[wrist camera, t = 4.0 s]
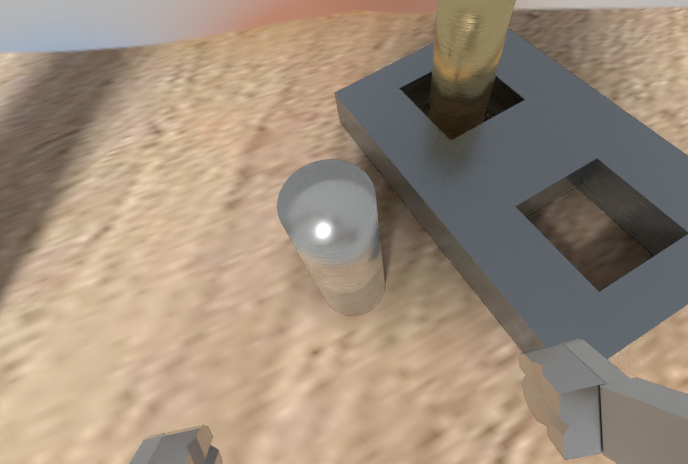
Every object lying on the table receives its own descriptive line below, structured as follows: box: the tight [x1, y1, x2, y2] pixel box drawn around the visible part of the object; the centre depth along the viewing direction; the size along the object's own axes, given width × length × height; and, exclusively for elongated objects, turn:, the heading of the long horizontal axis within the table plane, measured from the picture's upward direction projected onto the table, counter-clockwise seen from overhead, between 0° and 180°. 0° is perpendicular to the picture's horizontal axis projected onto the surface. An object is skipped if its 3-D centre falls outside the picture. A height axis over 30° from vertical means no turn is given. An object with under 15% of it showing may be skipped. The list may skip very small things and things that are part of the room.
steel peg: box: [277, 159, 385, 316], centre depth 20 cm, size 4×4×10 cm
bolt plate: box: [335, 0, 688, 359], centre depth 22 cm, size 14×23×10 cm, turn 30°
